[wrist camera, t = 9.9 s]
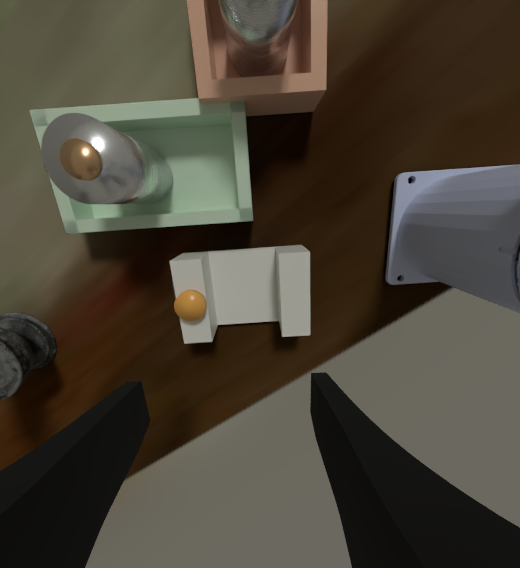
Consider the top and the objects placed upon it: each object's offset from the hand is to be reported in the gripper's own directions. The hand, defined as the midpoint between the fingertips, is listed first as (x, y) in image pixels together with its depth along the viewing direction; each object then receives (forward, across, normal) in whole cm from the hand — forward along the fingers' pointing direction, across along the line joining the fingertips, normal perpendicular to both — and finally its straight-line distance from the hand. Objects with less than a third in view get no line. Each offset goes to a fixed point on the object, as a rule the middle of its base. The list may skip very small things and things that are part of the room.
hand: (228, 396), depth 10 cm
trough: (+10, +5, -10) cm, 15 cm away
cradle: (+10, 0, -2) cm, 10 cm away
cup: (+10, -2, -17) cm, 20 cm away
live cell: (+9, +6, -10) cm, 15 cm away
